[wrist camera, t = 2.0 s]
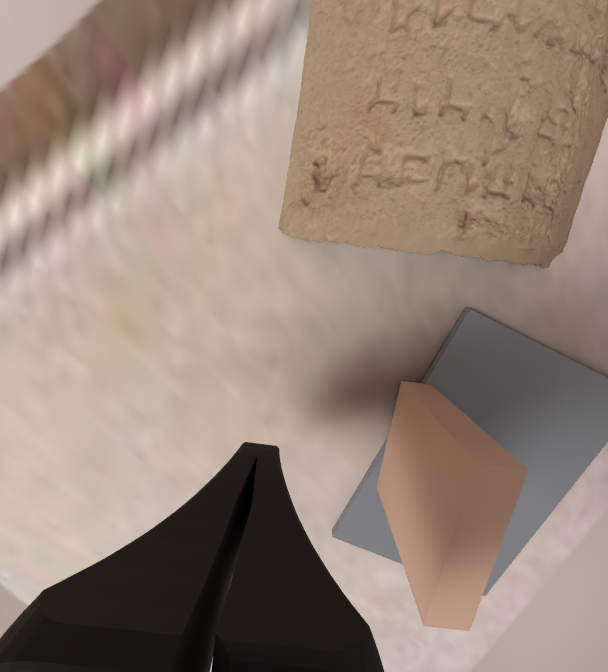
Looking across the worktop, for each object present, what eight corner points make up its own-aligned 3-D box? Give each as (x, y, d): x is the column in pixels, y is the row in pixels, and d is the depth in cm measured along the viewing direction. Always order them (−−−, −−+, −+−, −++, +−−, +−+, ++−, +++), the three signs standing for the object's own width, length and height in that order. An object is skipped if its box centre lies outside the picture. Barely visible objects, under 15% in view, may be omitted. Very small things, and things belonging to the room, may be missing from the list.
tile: (406, 490, 15) (473, 631, 9) (376, 486, 15) (423, 625, 9) (434, 385, 14) (534, 470, 8) (401, 380, 14) (475, 463, 8)
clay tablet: (644, 19, 11) (749, -59, 9) (565, 276, 13) (628, 277, 11) (284, -30, 11) (278, -127, 8) (263, 241, 13) (253, 233, 10)
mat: (480, 588, 17) (485, 596, 16) (332, 530, 16) (332, 536, 16) (634, 392, 14) (644, 396, 14) (465, 307, 13) (470, 308, 13)
